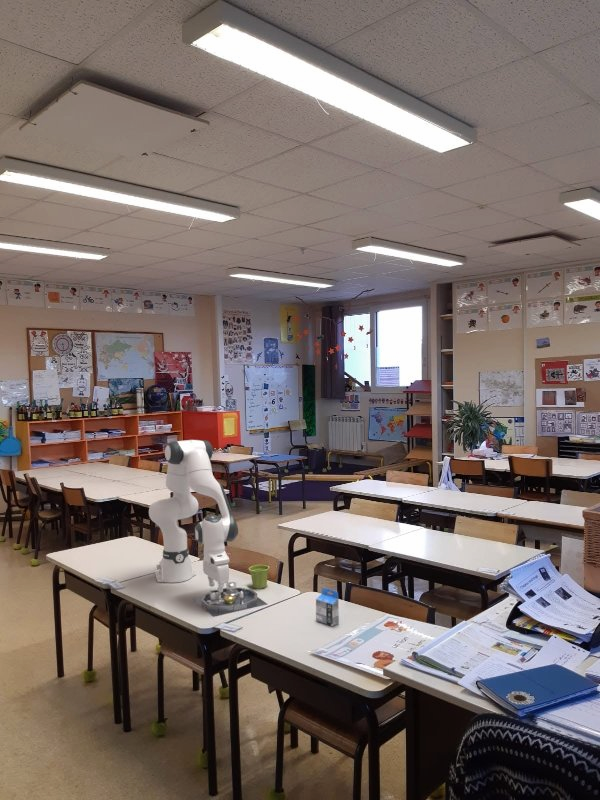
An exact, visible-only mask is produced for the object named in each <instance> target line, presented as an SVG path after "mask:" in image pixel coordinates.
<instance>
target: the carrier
mask: <svg viewBox="0 0 600 800" xmlns="http://www.w3.org/2000/svg"><path fill="white" fill-rule="evenodd" d="M225 584H226V585H225V586H226V587H223V592H221V598H222V600H224V605H221V606H217V605H212V604H208V603H207V601H208V600H210V591H209V592H207V593H205V594H203V596H201V597H200V596H199V597H196V598H195V597H194V598H192V600H193V601H195V602H196V603H197V604H198V605H199V606H200V607H201V608H202V609H203V610H205V611H206V612H207V613H208V614H209V615H210V616H211V617H213V618H214V617H215V618H216V617H219V616H223V615H227V614H232V613H236V612H240V611H244V610H249V609H254V608H258V607H263V606H267V605H268V603H267V602H266V601H264V600H262V599H261V598H259V596H258V593H257V592H256V591H254V590H253V589H251V588H245V587H239V586H238V587H237V582H235V581H228V583H225Z"/></svg>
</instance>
